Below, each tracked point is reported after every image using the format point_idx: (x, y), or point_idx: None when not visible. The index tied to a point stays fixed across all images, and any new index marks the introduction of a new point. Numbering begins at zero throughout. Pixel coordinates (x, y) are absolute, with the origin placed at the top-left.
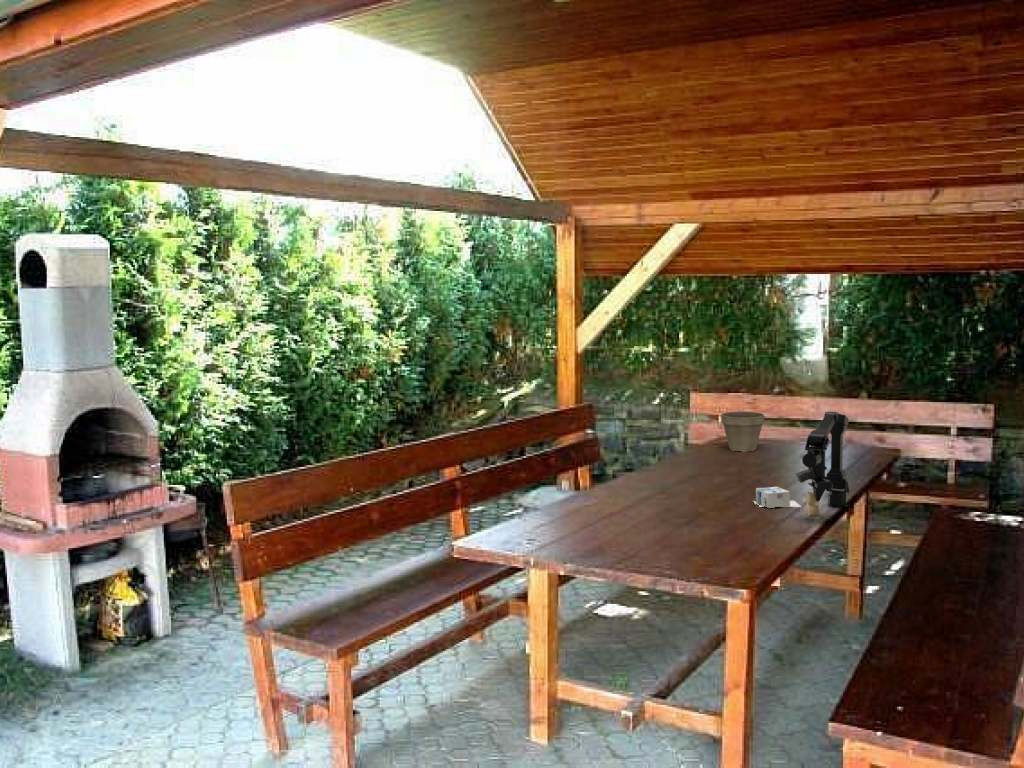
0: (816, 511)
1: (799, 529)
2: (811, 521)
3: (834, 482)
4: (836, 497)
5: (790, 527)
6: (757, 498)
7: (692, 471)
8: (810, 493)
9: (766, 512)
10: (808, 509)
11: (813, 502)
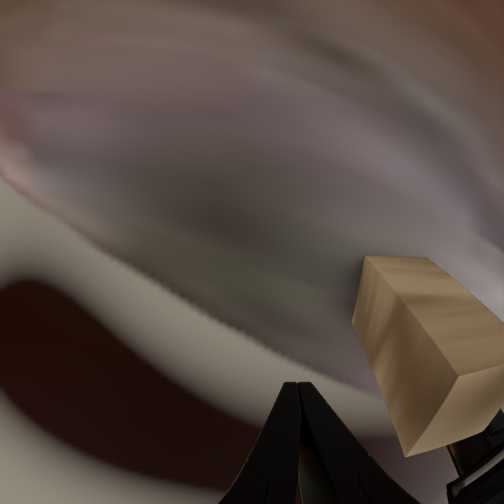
0: (363, 324)
1: (12, 89)
2: (173, 207)
3: (488, 500)
4: (470, 445)
5: (49, 40)
6: None
7: None
8: (481, 390)
9: (467, 16)
10: (400, 274)
11: (398, 350)
